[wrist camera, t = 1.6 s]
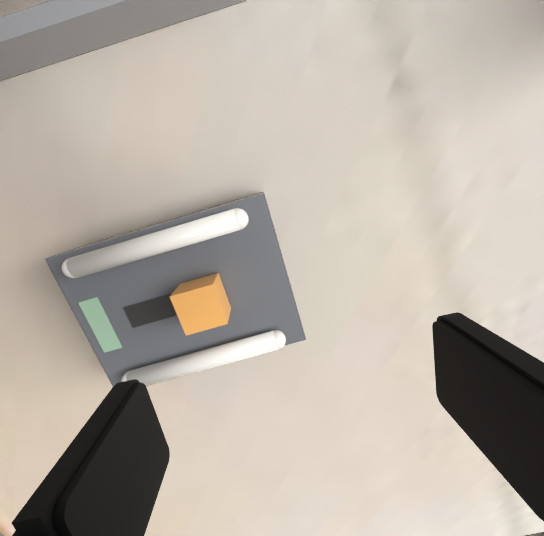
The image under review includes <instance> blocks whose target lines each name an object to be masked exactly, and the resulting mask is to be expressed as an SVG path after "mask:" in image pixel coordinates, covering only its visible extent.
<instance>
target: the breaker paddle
mask: <svg viewBox="0 0 544 536" xmlns="http://www.w3.org/2000/svg"><path fill="white" fill-rule="evenodd" d="M170 299H171V302H172V304H173V306H174V309H175V311H176V313H177V316H178V318H179V321H180V323H181V325H182V328H183V330H184V332H185V335H186V336H187V335H190V334H194V333H197V332H201V331H204V330H208V329H212V328H215V327H219V326H222V325H226V324H228V320H229V316H230V311H231V306H230V303H229V301H228V298H227V295H226V292H225V289H224V287H223V284H222V281H221V278H220V275H219V273H215V274H212V275H208V276H205V277H201V278H198V279H194V280H191V281H188V282H184V283H181V284H179V286H178V287H177V288H176V289H175V291H174V292H173V293H172V294H171V296H170Z"/></svg>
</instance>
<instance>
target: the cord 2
mask: <svg viewBox="0 0 544 536" xmlns="http://www.w3.org/2000/svg"><path fill="white" fill-rule="evenodd" d="M285 342H286V337H285V335H284V334H283V332H281V331H279V330H273V331H270V332H266V333H263V334H259V335H255V336H252V337H248V338H245V339H241V340H238V341H234V342H230V343H227V344H223V345H220V346H216V347H213V348H209V349H205V350H202V351H198V352H195V353H191V354H188V355H184V356H180V357H177V358H173V359H170V360H166V361H163V362H159V363H155V364H152V365H148V366H145V367H141V368H138V369H134V370H130V371H128V372H126V373H125V374H124V375H123V377H122V380H121V382H124V381H128V380H133V379H137V380H138V381H139V382H140V383H144V384H145V386H149V385H152V384H156V383H160V382H163V381H167V380H170V379H174V378H178V377H181V376H185V375H188V374H192V373H196V372H199V371H203V370H206V369H210V368H214V367H217V366H221V365H225V364H228V363H232V362H235V361H239V360H243V359H246V358H250V357H253V356H257V355H261V354H264V353H268V352H271V351H275V350H279V349H281V348H282V347H283V346H284V345H285Z"/></svg>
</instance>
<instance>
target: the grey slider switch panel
mask: <svg viewBox="0 0 544 536" xmlns="http://www.w3.org/2000/svg"><path fill="white" fill-rule="evenodd" d="M235 208H240V209H243V210H244V211H245V212H246V213H247V215H248V218H249V221H248V224H247V226H246V227H245V228H244V229H242V230H239V231H235V232H232V233H228V234H225V235H222V236H218V237H215V238H212V239H208V240H205V241H201V242H198V243H195V244H191V245H188V246H184V247H181V248H178V249H174V250H171V251H167V252H164V253H161V254H157V255H154V256H151V257H147V258H144V259H140V260H137V261H134V262H130V263H127V264H123V265H120V266H117V267H113V268H110V269H107V270H103V271H100V272H96V273H93V274H90V275H86V276H83V277H79V278H70V277H68V276H66V275H65V274H64V273H63V271H62V264H63V262H64V261H65V260H66V259H68V258H70V257H74V256H77V255H81V254H84V253H87V252H91V251H94V250H97V249H101V248H104V247H107V246H111V245H114V244H117V243H121V242H124V241H127V240H131V239H134V238H137V237H141V236H144V235H148V234H151V233H154V232H158V231H161V230H164V229H168V228H171V227H174V226H178V225H181V224H184V223H188V222H191V221H194V220H198V219H201V218H205V217H208V216H211V215H215V214H218V213H221V212H225V211H228V210H231V209H235ZM45 260H46V262H47V264H48V266H49V268H50V270H51V271H52V273H53V275H54V277H55V279H56V281H57V283H58V285H59V286H60V288H61V290H62V292H63V294H64V296H65V298H66V300H67V301H68V303H69V305H70V307H71V309H72V311H73V313H74V315H75V316H76V318H77V320H78V322H79V324H80V326H81V328H82V330H83V331H84V333H85V335H86V337H87V339H88V341H89V343H90V344H91V346H92V348H93V350H94V352H95V354H96V356H97V358H98V359H99V361H100V363H101V365H102V367H103V369H104V371H105V373H106V374H107V376H108V378H109V380H110V382H111V384H112V386H113V387H114V385H115V384H116V383H119V382H121V380H122V377H123V375H124V374H125V373H126V372H128V371H130V370H134V369H138V368H141V367H145V366H148V365H152V364H155V363H159V362H163V361H166V360H170V359H173V358H177V357H180V356H184V355H188V354H191V353H195V352H198V351H202V350H205V349H209V348H213V347H216V346H220V345H223V344H227V343H230V342H234V341H238V340H241V339H245V338H248V337H252V336H255V335H259V334H263V333H266V332H270V331H273V330H279V331H281V332H283V334H284V335H285V337H286V342H285V345H288V344H291V343H295V342H299V341H302V340H306V338H305V334H304V331H303V327H302V324H301V320H300V317H299V313H298V310H297V306H296V303H295V299H294V296H293V292H292V289H291V285H290V282H289V278H288V275H287V271H286V268H285V264H284V261H283V257H282V254H281V250H280V247H279V243H278V240H277V236H276V233H275V229H274V226H273V222H272V219H271V215H270V212H269V208H268V205H267V201H266V198H265V194H264V192H262V193H259V194H255V195H252V196H249V197H245V198H242V199H239V200H235V201H232V202H228V203H225V204H222V205H218V206H215V207H212V208H208V209H205V210H202V211H198V212H195V213H192V214H188V215H185V216H182V217H178V218H175V219H172V220H168V221H165V222H162V223H158V224H155V225H152V226H148V227H145V228H142V229H138V230H135V231H132V232H128V233H125V234H122V235H118V236H115V237H112V238H108V239H105V240H102V241H98V242H95V243H92V244H88V245H85V246H82V247H79V248H76V249H73V250H70V251H67V252H64V253H61V254H58V255H55V256H52V257H49V258H46V259H45ZM215 273H219V275H220V278H221V281H222V284H223V287H224V289H225V292H226V295H227V298H228V301H229V303H230V306H231V311H230V316H229V320H228V324H226V325H222V326H219V327H215V328H212V329H208V330H204V331H201V332H197V333H194V334H190V335H187V336H186V335H185V332H184V330H183V328H182V325H181V323H180V321H179V318H178V316H177V313H176V311H175V309H174V306H173V304H172V302H171V299H170V296H171V294H172V293H173V292H174V291H175V289H176V288H177V287H178V286H179V284H181V283H184V282H188V281H191V280H194V279H198V278H201V277H205V276H208V275H212V274H215Z"/></svg>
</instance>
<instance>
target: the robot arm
mask: <svg viewBox="0 0 544 536" xmlns="http://www.w3.org/2000/svg"><path fill="white" fill-rule="evenodd" d="M433 344H434V360H435V376H436V392H437V397H438V399H439V402H440V403H441V405H442V406H443V407H444V408H445V410H446V411H447V412H448V413H449V414H450V415H451V417H452V418H453V419H454V420H455V421H456V422H457V424H458V425H459V426H460V427H461V428H462V429H463V430H464V432H465V433H466V434H467V435H468V436H469V437H470V439H471V440H472V441H473V442H474V443H475V444H476V445H477V447H478V448H479V449H480V450H481V451H482V452H483V454H484V455H485V456H486V457H487V458H488V459H489V460H490V462H491V463H492V464H493V465H494V466H495V467H496V469H497V470H498V471H499V472H500V473H501V474H502V475H503V477H504V478H505V479H506V480H507V481H508V482H509V484H510V485H511V486H512V487H513V488H514V489H515V490H516V492H517V493H518V494H519V495H520V496H521V497H522V499H523V500H524V501H525V502H526V503H527V504H528V505H529V507H530V508H531V509H532V510H533V511H534V512H535V514H536V515H537V516H538V517H539V518H540V519H542V520H543V521H544V363H543V362H542V361H540V360H538V359H537V358H535V357H533V356H531V355H530V354H528V353H526V352H525V351H523V350H521V349H520V348H518V347H516V346H515V345H513V344H511V343H510V342H508V341H506V340H505V339H503V338H501V337H499V336H498V335H496V334H494V333H493V332H491V331H489V330H488V329H486V328H484V327H483V326H481V325H479V324H478V323H476V322H474V321H473V320H471V319H469V318H467V317H466V316H464V315H462V314H461V313H452V314H448V315H443V316H439V317H438V318H437V322H434V323H433ZM168 462H169V447H168V445H167V442H166V439H165V437H164V434H163V431H162V429H161V426H160V423H159V420H158V418H157V415H156V412H155V410H154V407H153V404H152V402H151V399H150V396H149V394H148V391H147V388H146V386H145V384H144V383H140V382H139V381H138V380H137V379H133V380H128V381H124V382H119V383H116V384H115V385H114V387H113V388H112V389H111V391H110V392H109V393H108V395H107V396H106V397H105V399H104V400H103V401H102V403H101V404H100V405H99V407H98V408H97V409H96V411H95V412H94V413H93V415H92V416H91V417H90V419H89V420H88V421H87V423H86V424H85V425H84V427H83V428H82V429H81V431H80V432H79V433H78V435H77V436H76V437H75V439H74V440H73V441H72V443H71V444H70V445H69V447H68V448H67V449H66V451H65V452H64V453H63V455H62V456H61V457H60V459H59V460H58V461H57V463H56V464H55V466H54V467H53V468H52V470H51V471H50V472H49V474H48V475H47V476H46V478H45V479H44V480H43V482H42V483H41V484H40V486H39V487H38V488H37V490H36V491H35V492H34V494H33V495H32V496H31V498H30V499H29V500H28V502H27V503H26V504H25V506H24V507H23V508H22V510H21V511H20V512H19V514H18V515H17V516H16V518H15V519H14V520H13V522H12V524H13V526H14V528H15V529H16V531H15V533H14V534H13V535H12V536H144V534H145V531H146V528H147V525H148V522H149V519H150V516H151V513H152V510H153V507H154V504H155V501H156V498H157V495H158V492H159V489H160V486H161V483H162V480H163V477H164V474H165V471H166V468H167V465H168ZM526 536H544V532H541V533H536V534H531V535H526Z"/></svg>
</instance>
